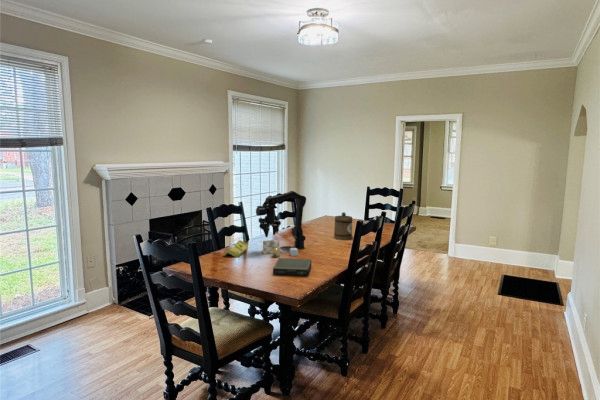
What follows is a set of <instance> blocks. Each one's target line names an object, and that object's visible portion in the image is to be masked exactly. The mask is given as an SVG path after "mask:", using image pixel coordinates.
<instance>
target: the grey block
mask: <svg viewBox="0 0 600 400" xmlns="http://www.w3.org/2000/svg"><path fill="white" fill-rule="evenodd" d="M289 255H290V256H291V257H297V256H298V257H299V249H297V248H295V247H293V248H290V252H289Z"/></svg>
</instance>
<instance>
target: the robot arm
mask: <svg viewBox="0 0 600 400" xmlns="http://www.w3.org/2000/svg"><path fill="white" fill-rule="evenodd" d="M290 198H292V200H293V199H294V200H295V202H294V203H295V206H296V210H295V211H296V212H295V223H294V227H292V228H291V236H292V237H293V239H294V241H293V242H294V246H293V248H297V249H298V250H299V249H306V247H305V241H306V238H307V237H306V236H305V235H304V231H303V227H302V223H303V212H304V207H305V206H306V203H307V197H306V196H305V195H302V194H299V193H298V192H296V191H293V190H290V191H288V192H285V193H282V194H279V195H273V196H267V197H266V198H265V200H264V202H263V204H262V205H257V206H256V209H255V213H256V216H258V217H259V218H258V223H259V226H258V227H259V228H260V229H261V230H262V231H263V233H264V236H265V238H268V236H269V232H270V226H271V227H272V235H273V236H275V235H276V233H277V231H278V229H279V227H280V225H281V224H282V221H281V220H276V219H275V218H276V215H275V209H278V207H277V206H276V205H277V204H278V203H279V202H282V201H284V200H287V199H290ZM260 216H264V218H262V217H260Z"/></svg>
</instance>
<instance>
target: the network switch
mask: <svg viewBox="0 0 600 400" xmlns="http://www.w3.org/2000/svg"><path fill="white" fill-rule="evenodd" d="M311 267H312V259H309V258H288V257H287V258H286V257H285V258H284V257H283V258H282V257H278V259H277V260H276V262H275V264H274V266H273V267H272V273H273V275H274V276H301V277H307V276H309V274H310V270H311Z"/></svg>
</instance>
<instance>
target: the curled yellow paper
mask: <svg viewBox="0 0 600 400" xmlns="http://www.w3.org/2000/svg"><path fill="white" fill-rule="evenodd" d="M247 249H248V244H247V243H246V242H245V241H242V240H237V242H236V243H235V244H234V246H232V248H231V249H230V248H227V249H226V250H225V252H224V253H223V256H224V257H226V256H227V255H231V256H233V257H234V258H239V257H240V256H241V255H242V254H244V253H245V251H246V250H247Z"/></svg>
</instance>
